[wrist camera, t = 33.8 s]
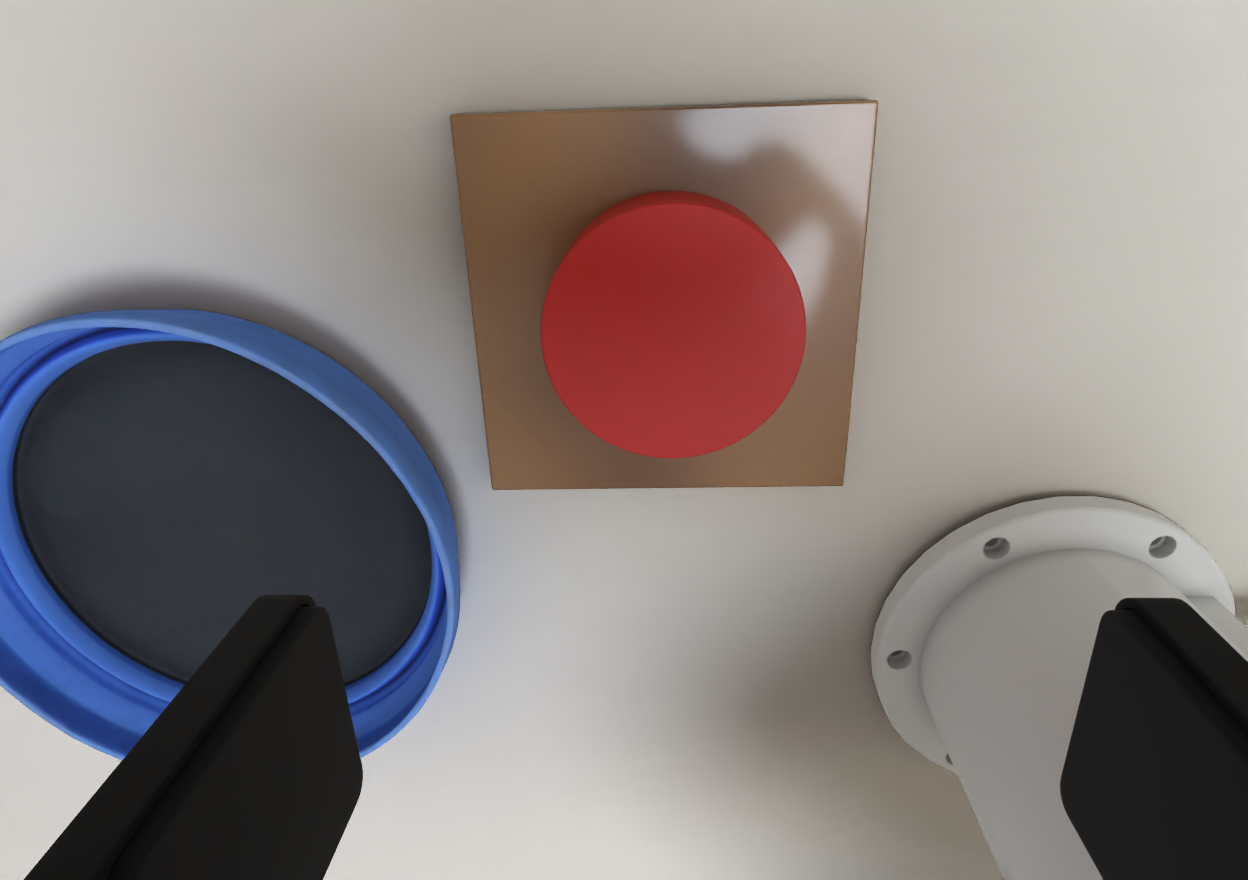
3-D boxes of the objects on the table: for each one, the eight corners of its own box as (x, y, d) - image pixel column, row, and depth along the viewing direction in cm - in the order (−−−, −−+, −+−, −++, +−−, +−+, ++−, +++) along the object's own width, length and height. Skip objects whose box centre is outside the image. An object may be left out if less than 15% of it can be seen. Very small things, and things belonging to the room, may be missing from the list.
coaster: (872, 99, 22) (879, 100, 22) (838, 476, 27) (843, 486, 27) (455, 114, 23) (448, 114, 22) (496, 480, 28) (491, 490, 27)
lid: (556, 428, 26) (547, 461, 24) (539, 194, 23) (526, 206, 21) (786, 424, 26) (798, 457, 23) (799, 186, 23) (815, 197, 20)
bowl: (-89, 546, 30) (-179, 602, 27) (119, 170, 24) (34, 183, 21) (314, 783, 34) (278, 856, 31) (575, 515, 28) (565, 570, 25)
